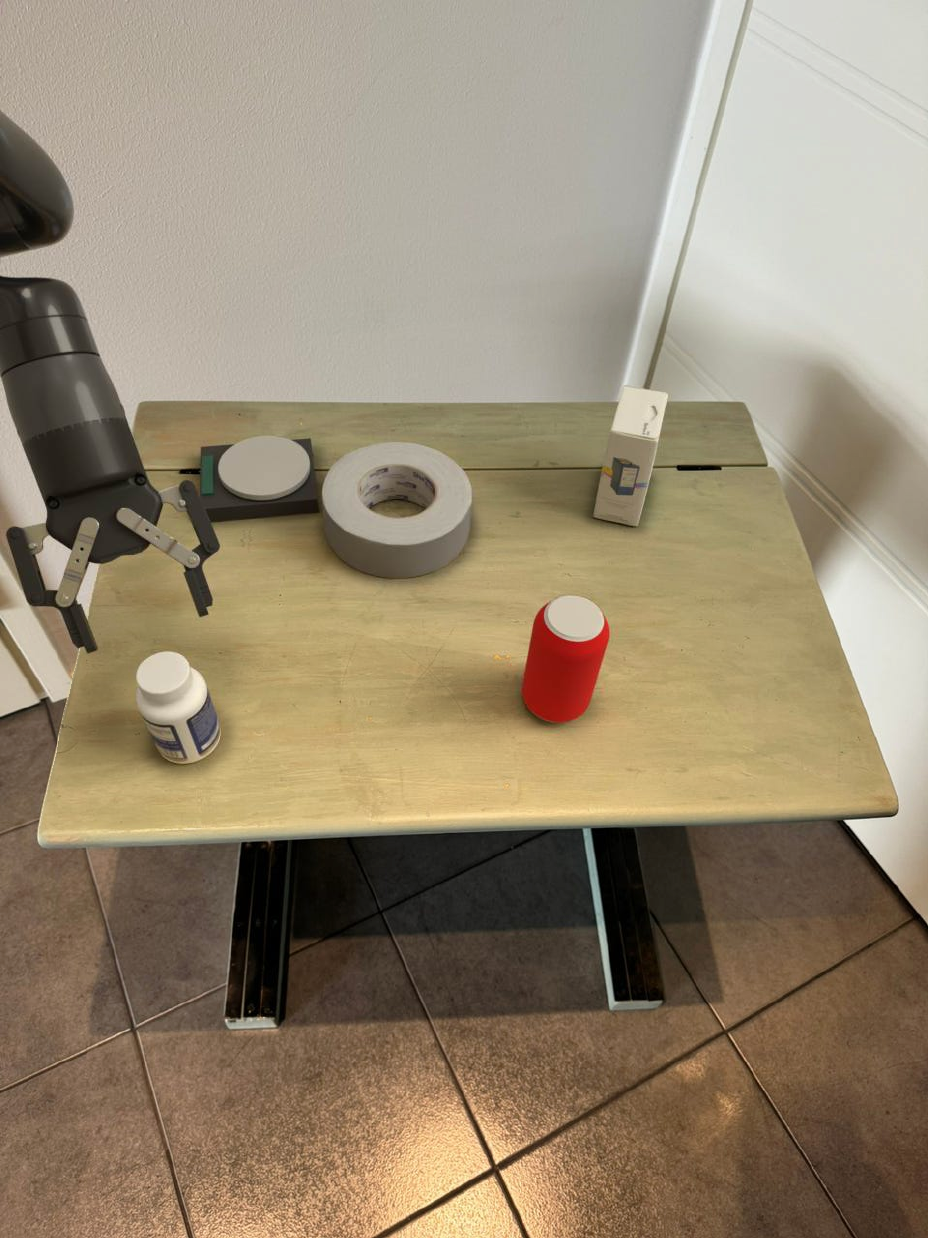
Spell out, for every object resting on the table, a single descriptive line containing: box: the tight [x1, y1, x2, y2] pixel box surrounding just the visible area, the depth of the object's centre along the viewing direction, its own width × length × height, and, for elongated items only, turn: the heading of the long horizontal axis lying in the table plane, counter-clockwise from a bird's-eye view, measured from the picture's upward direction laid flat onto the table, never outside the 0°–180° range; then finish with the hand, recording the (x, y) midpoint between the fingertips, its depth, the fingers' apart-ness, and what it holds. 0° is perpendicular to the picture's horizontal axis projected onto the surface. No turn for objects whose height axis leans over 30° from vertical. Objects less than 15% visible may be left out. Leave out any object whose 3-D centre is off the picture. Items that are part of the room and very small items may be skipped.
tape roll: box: [321, 441, 473, 579], centre depth 86 cm, size 15×15×5 cm
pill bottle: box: [135, 650, 222, 765], centre depth 67 cm, size 5×5×10 cm
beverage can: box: [521, 594, 611, 723], centre depth 71 cm, size 6×6×12 cm
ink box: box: [593, 384, 669, 527], centre depth 88 cm, size 9×5×12 cm, turn 164°
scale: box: [199, 435, 320, 523], centre depth 90 cm, size 12×10×3 cm
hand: (149, 633), depth 65 cm, fingers open, 8 cm apart
